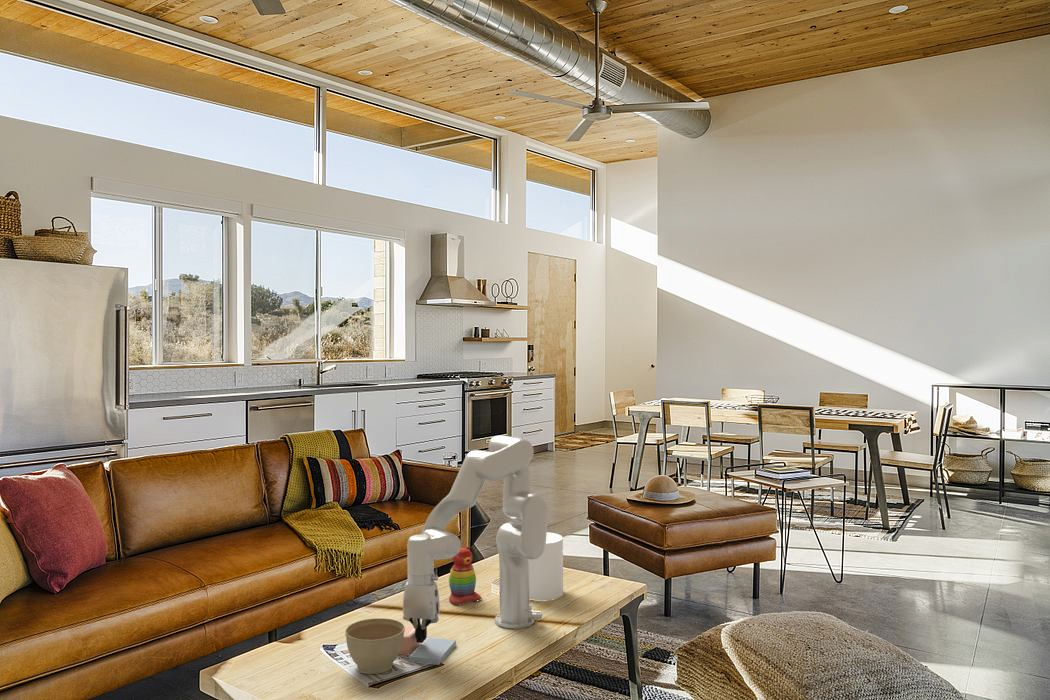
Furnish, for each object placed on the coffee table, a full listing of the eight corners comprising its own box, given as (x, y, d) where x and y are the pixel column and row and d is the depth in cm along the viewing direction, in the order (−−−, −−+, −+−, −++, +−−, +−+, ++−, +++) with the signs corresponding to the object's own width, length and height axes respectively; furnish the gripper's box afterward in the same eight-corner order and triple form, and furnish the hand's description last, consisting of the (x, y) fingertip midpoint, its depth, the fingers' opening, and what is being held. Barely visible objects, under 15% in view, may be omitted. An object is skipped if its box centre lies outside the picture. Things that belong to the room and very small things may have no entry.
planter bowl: (393, 682, 199) (393, 641, 199) (335, 678, 202) (335, 637, 202) (412, 657, 215) (412, 619, 215) (359, 653, 218) (359, 616, 218)
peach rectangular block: (420, 643, 224) (419, 626, 224) (409, 654, 217) (409, 637, 216) (404, 642, 226) (404, 625, 225) (393, 653, 218) (393, 635, 218)
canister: (572, 592, 269) (572, 536, 269) (543, 604, 257) (543, 546, 257) (537, 583, 280) (537, 529, 279) (508, 594, 268) (508, 538, 267)
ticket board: (456, 645, 224) (455, 639, 224) (439, 664, 210) (438, 659, 210) (427, 642, 226) (427, 637, 226) (408, 661, 212) (408, 656, 212)
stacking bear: (454, 606, 256) (454, 554, 256) (442, 597, 265) (442, 547, 265) (483, 600, 261) (483, 549, 261) (470, 592, 270) (470, 542, 270)
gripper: (449, 576, 221) (449, 638, 222) (401, 572, 225) (402, 633, 225) (440, 584, 214) (440, 648, 214) (391, 580, 218) (391, 643, 218)
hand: (421, 640), depth 220 cm, fingers closed
